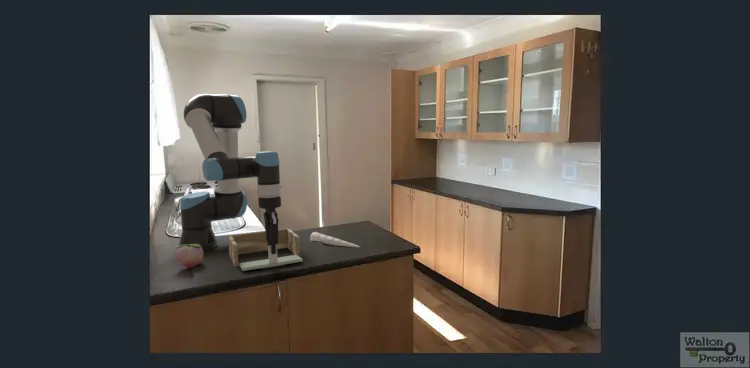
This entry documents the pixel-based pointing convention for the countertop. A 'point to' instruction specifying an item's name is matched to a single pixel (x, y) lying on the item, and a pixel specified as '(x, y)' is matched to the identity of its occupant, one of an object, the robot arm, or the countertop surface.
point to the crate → (261, 243)
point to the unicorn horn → (330, 240)
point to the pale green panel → (267, 264)
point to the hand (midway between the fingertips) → (273, 261)
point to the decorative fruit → (189, 255)
